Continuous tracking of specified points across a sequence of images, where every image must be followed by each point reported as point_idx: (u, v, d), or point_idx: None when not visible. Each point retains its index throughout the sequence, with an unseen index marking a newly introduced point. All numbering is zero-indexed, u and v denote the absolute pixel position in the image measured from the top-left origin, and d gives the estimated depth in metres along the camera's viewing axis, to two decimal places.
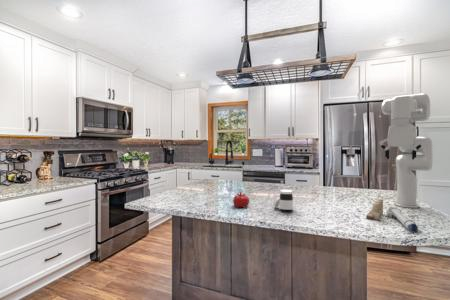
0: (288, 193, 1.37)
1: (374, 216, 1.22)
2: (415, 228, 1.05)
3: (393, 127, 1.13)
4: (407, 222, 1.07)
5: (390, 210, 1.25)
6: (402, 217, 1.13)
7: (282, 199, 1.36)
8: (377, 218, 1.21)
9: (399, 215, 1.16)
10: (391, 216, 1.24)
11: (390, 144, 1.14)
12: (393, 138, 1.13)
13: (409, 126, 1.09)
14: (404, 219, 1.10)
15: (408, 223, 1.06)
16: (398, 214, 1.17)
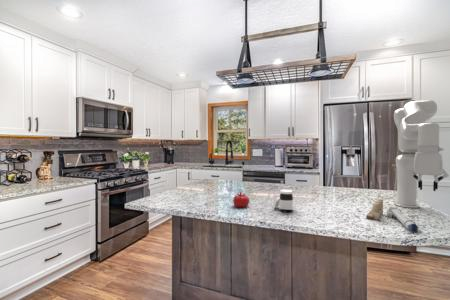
0: (288, 193, 1.37)
1: (374, 216, 1.22)
2: (415, 228, 1.05)
3: (420, 155, 1.09)
4: (407, 222, 1.07)
5: (390, 210, 1.25)
6: (402, 217, 1.13)
7: (282, 199, 1.36)
8: (377, 218, 1.21)
9: (399, 215, 1.15)
10: (391, 216, 1.24)
11: (417, 172, 1.10)
12: (420, 166, 1.09)
13: (438, 154, 1.06)
14: (404, 219, 1.10)
15: (408, 223, 1.06)
16: (398, 214, 1.17)
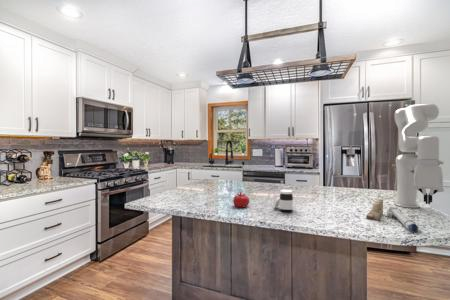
0: (288, 193, 1.37)
1: (374, 216, 1.22)
2: (415, 228, 1.05)
3: (420, 168, 1.09)
4: (407, 222, 1.07)
5: (390, 210, 1.25)
6: (402, 217, 1.12)
7: (282, 199, 1.36)
8: (377, 218, 1.21)
9: (399, 215, 1.15)
10: (391, 216, 1.24)
11: (417, 185, 1.10)
12: (420, 179, 1.09)
13: (438, 168, 1.05)
14: (404, 219, 1.10)
15: (408, 223, 1.06)
16: (398, 214, 1.17)
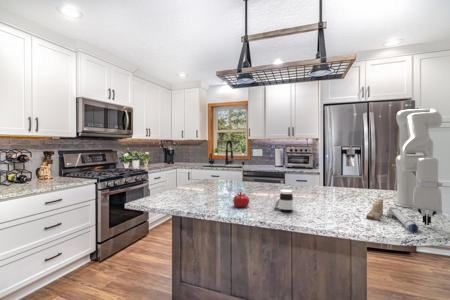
0: (288, 193, 1.37)
1: (374, 216, 1.22)
2: (415, 228, 1.04)
3: (419, 189, 1.10)
4: (407, 222, 1.07)
5: (390, 210, 1.25)
6: (402, 217, 1.12)
7: (282, 199, 1.36)
8: (377, 218, 1.21)
9: (399, 215, 1.15)
10: (391, 216, 1.24)
11: (416, 206, 1.11)
12: (419, 200, 1.10)
13: (437, 190, 1.06)
14: (404, 219, 1.10)
15: (408, 223, 1.06)
16: (398, 214, 1.16)
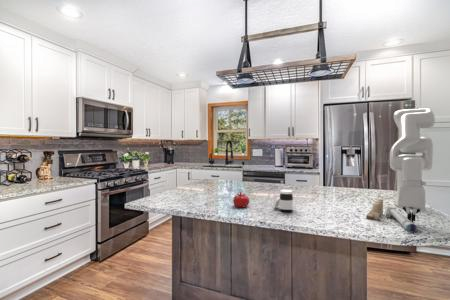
0: (288, 193, 1.37)
1: (374, 216, 1.22)
2: (414, 228, 1.05)
3: (404, 188, 1.13)
4: (406, 222, 1.07)
5: (389, 210, 1.25)
6: (401, 217, 1.12)
7: (282, 199, 1.36)
8: (377, 218, 1.21)
9: (398, 215, 1.15)
10: (390, 216, 1.24)
11: (401, 204, 1.14)
12: (404, 199, 1.13)
13: (420, 189, 1.10)
14: (403, 219, 1.10)
15: (407, 223, 1.06)
16: (397, 214, 1.17)
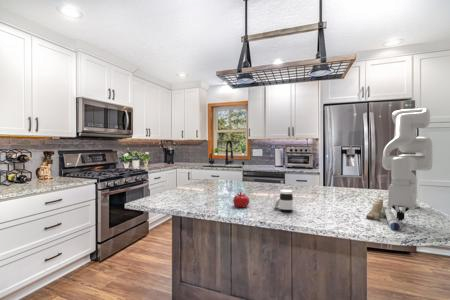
0: (288, 193, 1.37)
1: (374, 216, 1.22)
2: (397, 227, 1.06)
3: (393, 187, 1.16)
4: (391, 221, 1.09)
5: (383, 210, 1.26)
6: (389, 216, 1.14)
7: (282, 199, 1.36)
8: (377, 218, 1.21)
9: (387, 214, 1.17)
10: (384, 216, 1.25)
11: (390, 203, 1.17)
12: (393, 197, 1.16)
13: (409, 188, 1.12)
14: (390, 218, 1.12)
15: (391, 222, 1.08)
16: (387, 213, 1.18)
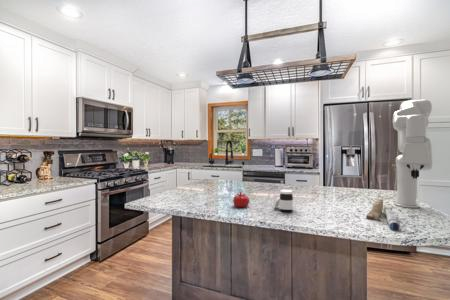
0: (288, 193, 1.37)
1: (374, 216, 1.22)
2: (397, 227, 1.06)
3: (408, 145, 1.16)
4: (390, 221, 1.09)
5: (384, 210, 1.26)
6: (389, 216, 1.14)
7: (282, 199, 1.36)
8: (377, 218, 1.21)
9: (388, 214, 1.17)
10: (385, 216, 1.25)
11: (405, 161, 1.17)
12: (408, 156, 1.16)
13: (424, 145, 1.12)
14: (389, 218, 1.12)
15: (390, 222, 1.08)
16: (387, 213, 1.18)
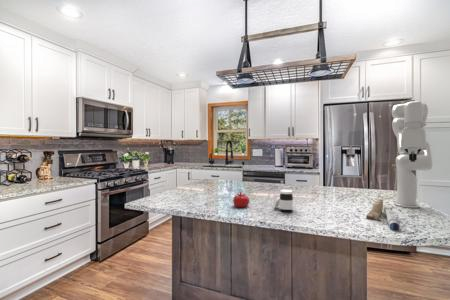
0: (288, 193, 1.37)
1: (374, 216, 1.22)
2: (397, 227, 1.06)
3: (406, 130, 1.24)
4: (390, 221, 1.09)
5: (384, 210, 1.25)
6: (389, 216, 1.14)
7: (282, 199, 1.36)
8: (377, 218, 1.21)
9: (388, 214, 1.17)
10: (385, 216, 1.25)
11: (403, 145, 1.25)
12: (406, 140, 1.24)
13: (421, 129, 1.20)
14: (389, 218, 1.12)
15: (390, 222, 1.08)
16: (388, 214, 1.18)
